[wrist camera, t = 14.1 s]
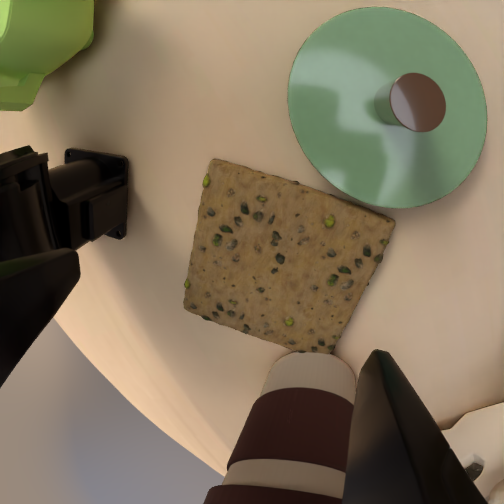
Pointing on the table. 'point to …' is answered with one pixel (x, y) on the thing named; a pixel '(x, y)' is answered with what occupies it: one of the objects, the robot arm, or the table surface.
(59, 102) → the table surface
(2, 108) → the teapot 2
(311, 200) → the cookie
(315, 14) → the table surface
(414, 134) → the lid
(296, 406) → the coffee cup
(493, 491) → the bust
